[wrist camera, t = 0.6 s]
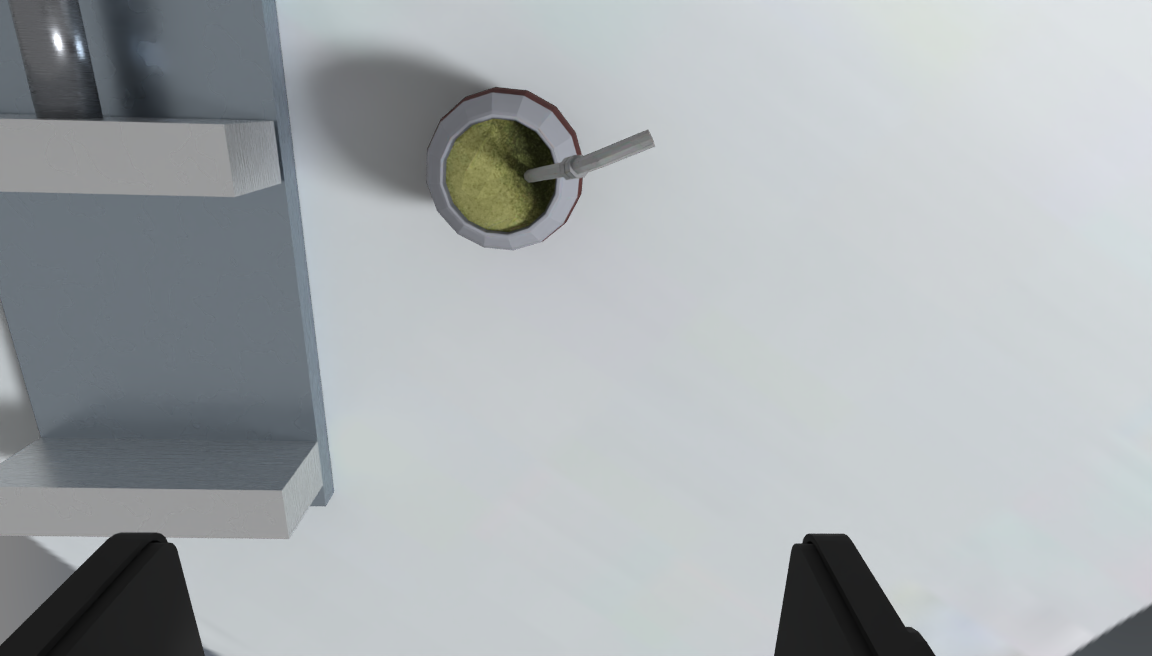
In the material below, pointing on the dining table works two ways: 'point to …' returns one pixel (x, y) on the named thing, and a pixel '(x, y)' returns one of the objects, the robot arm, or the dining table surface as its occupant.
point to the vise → (165, 305)
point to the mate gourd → (511, 167)
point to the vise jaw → (114, 128)
